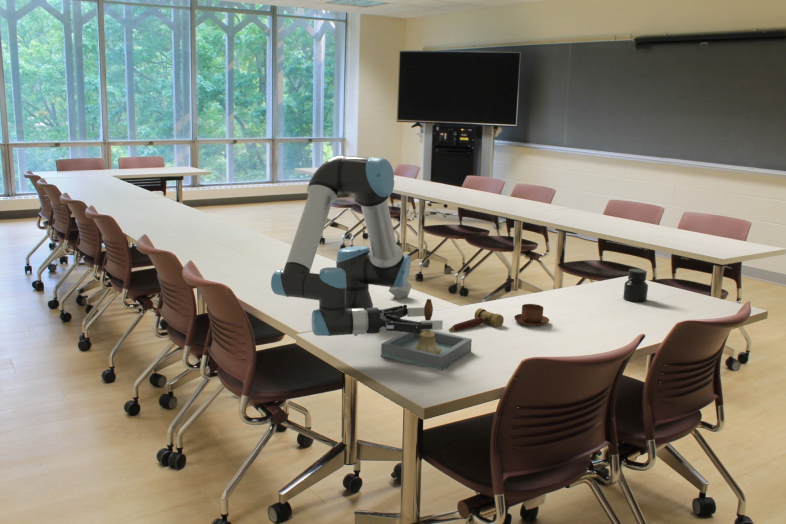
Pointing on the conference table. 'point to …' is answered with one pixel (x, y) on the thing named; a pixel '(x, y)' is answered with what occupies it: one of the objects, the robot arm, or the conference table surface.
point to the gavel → (480, 320)
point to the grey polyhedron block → (401, 291)
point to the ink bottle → (636, 286)
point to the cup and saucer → (532, 315)
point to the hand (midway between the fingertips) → (435, 317)
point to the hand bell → (427, 333)
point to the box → (404, 351)
